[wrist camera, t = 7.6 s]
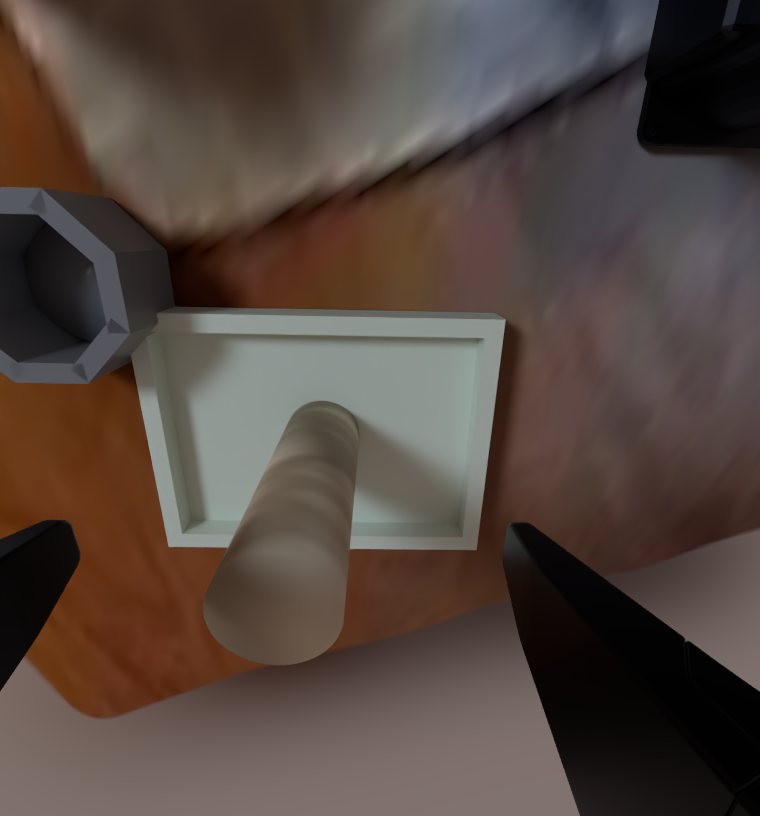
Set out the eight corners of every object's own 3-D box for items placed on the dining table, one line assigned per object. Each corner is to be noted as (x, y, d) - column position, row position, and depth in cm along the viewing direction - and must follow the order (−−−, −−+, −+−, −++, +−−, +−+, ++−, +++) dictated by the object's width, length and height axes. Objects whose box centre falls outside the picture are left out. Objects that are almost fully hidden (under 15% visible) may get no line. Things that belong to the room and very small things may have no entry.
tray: (494, 312, 20) (505, 319, 18) (469, 528, 24) (476, 550, 22) (144, 306, 20) (122, 312, 18) (183, 525, 24) (168, 546, 22)
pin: (359, 401, 21) (342, 560, 10) (359, 467, 22) (344, 665, 12) (284, 400, 21) (193, 558, 10) (288, 466, 22) (212, 664, 12)
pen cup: (158, 199, 18) (101, 189, 14) (183, 357, 20) (140, 384, 17) (-7, 195, 18) (-108, 184, 14) (38, 355, 20) (-38, 381, 17)
